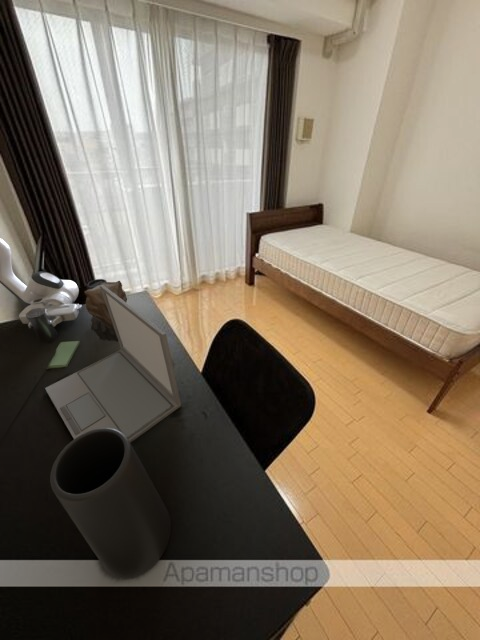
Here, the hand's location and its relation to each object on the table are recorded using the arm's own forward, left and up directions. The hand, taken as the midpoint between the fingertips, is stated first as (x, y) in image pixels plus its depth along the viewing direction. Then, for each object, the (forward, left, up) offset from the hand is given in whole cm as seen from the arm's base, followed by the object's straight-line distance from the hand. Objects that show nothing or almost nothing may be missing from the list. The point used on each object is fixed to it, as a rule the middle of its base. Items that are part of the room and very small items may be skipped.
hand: (41, 326), depth 105 cm
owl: (+26, 0, -7) cm, 27 cm away
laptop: (+32, -32, -7) cm, 46 cm away
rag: (+9, -10, -6) cm, 15 cm away
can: (0, +1, -6) cm, 7 cm away
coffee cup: (+18, +15, -7) cm, 24 cm away
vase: (+46, -68, -7) cm, 82 cm away
